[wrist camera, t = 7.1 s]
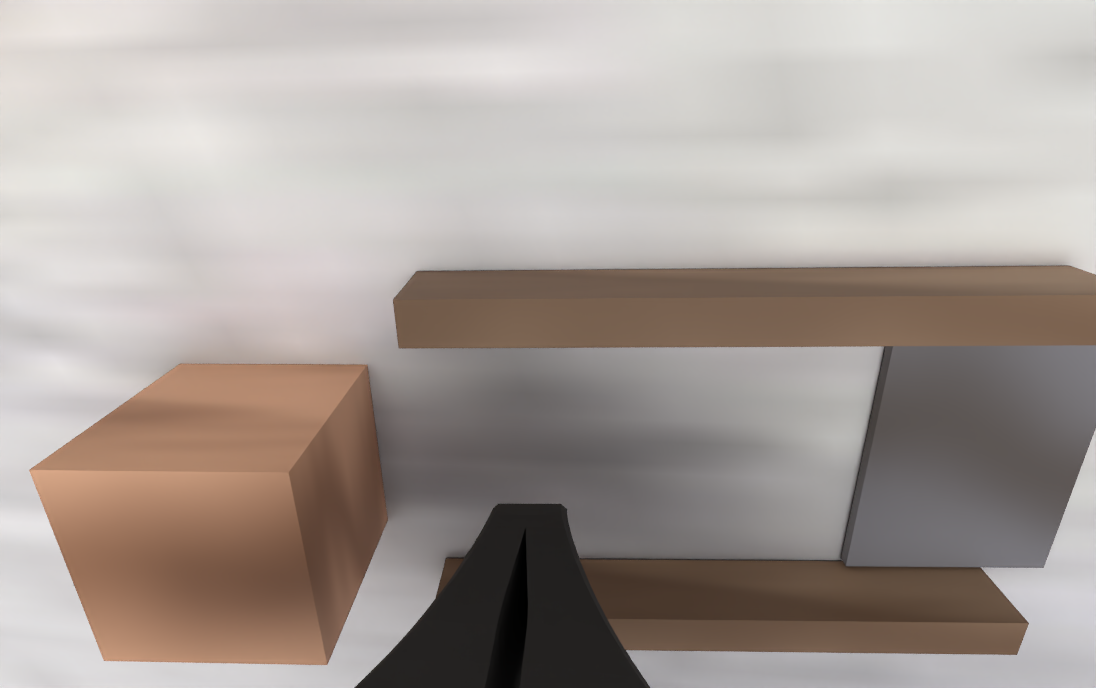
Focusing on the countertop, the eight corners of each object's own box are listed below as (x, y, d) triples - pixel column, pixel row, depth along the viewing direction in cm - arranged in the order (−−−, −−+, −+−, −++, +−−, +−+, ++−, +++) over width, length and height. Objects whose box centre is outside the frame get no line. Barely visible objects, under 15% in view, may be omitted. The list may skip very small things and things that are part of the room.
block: (388, 517, 16) (327, 664, 12) (221, 516, 16) (103, 661, 12) (368, 363, 14) (288, 472, 10) (182, 362, 15) (29, 470, 10)
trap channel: (1023, 591, 16) (1081, 655, 15) (448, 587, 17) (434, 647, 15) (1142, 265, 13) (1237, 293, 11) (416, 271, 13) (393, 299, 12)
